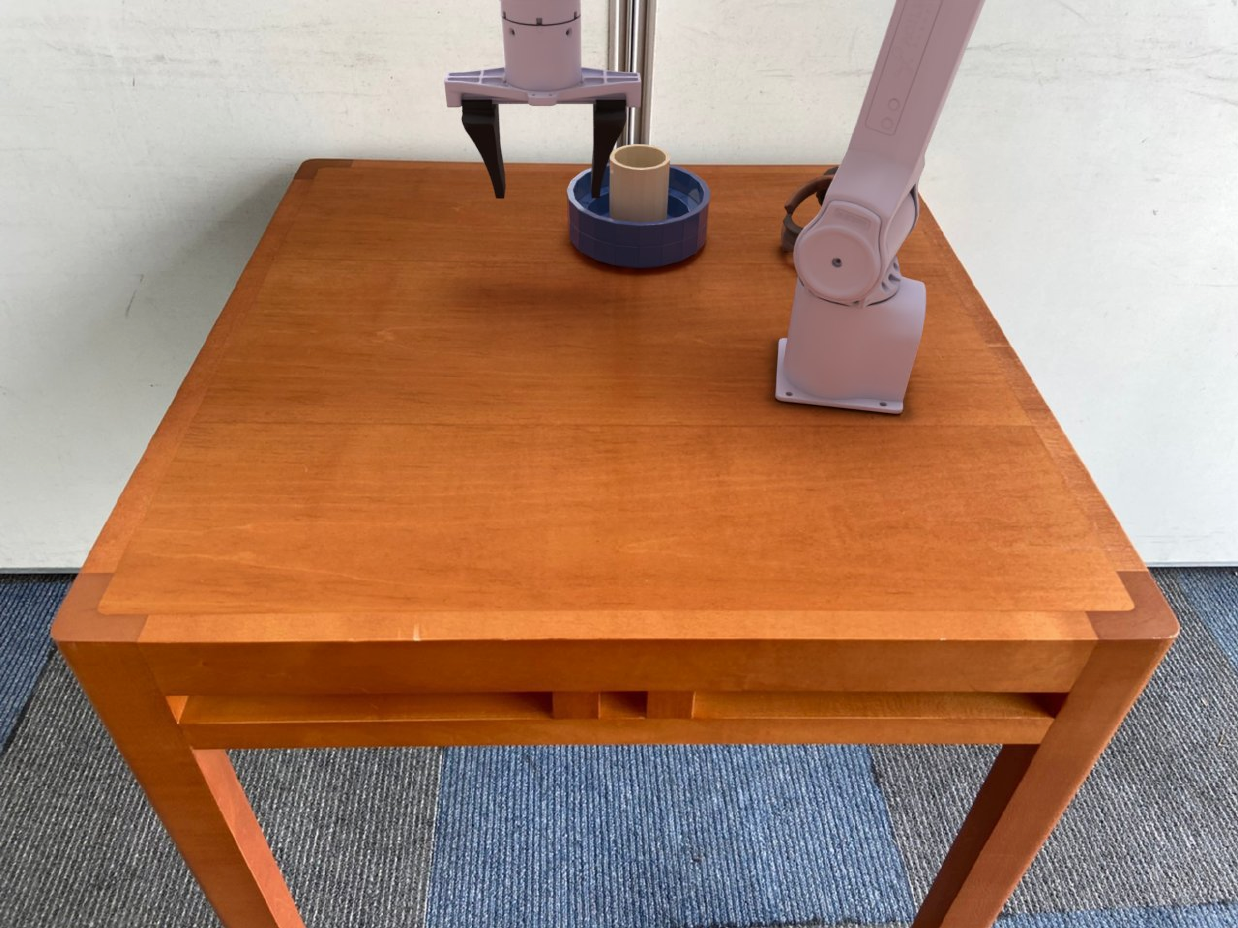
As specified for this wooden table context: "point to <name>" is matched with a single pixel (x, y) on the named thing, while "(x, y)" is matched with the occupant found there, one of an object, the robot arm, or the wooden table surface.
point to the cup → (639, 183)
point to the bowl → (639, 223)
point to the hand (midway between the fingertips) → (548, 193)
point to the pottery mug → (809, 188)
